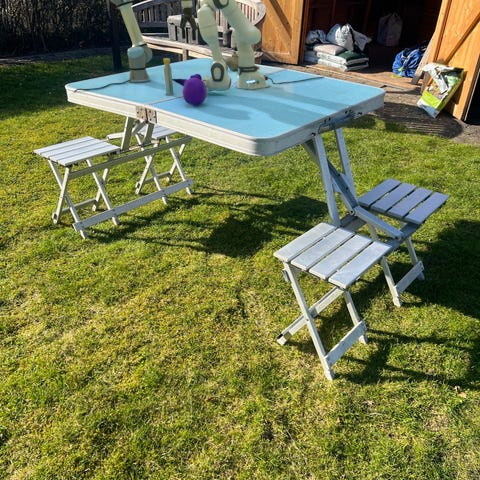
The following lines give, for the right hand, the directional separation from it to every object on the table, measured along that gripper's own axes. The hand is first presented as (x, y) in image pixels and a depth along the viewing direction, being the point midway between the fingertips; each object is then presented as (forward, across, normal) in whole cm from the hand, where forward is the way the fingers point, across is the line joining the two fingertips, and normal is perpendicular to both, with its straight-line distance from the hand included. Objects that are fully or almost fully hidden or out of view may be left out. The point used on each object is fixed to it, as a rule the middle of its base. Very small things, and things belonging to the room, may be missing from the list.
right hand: (185, 84), depth 294 cm
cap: (+11, 0, -15) cm, 19 cm away
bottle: (+11, 0, +7) cm, 13 cm away
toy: (-8, +23, +7) cm, 26 cm away
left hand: (+6, -55, -21) cm, 59 cm away
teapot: (-25, -86, +7) cm, 90 cm away
